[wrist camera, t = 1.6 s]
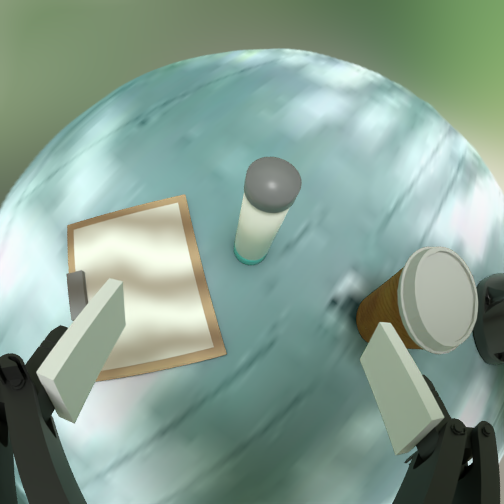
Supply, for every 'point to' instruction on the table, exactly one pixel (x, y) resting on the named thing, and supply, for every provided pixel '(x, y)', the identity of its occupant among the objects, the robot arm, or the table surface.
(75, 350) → the robot arm
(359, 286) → the table surface
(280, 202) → the ball
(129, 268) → the clipboard
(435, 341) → the disposable coffee cup
